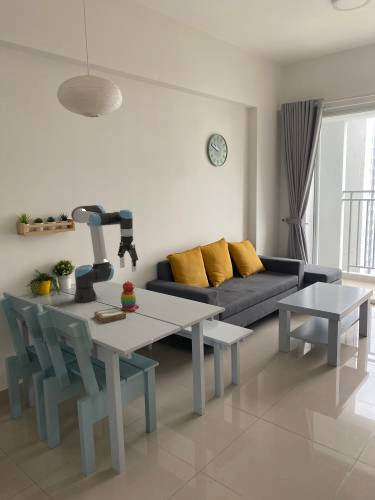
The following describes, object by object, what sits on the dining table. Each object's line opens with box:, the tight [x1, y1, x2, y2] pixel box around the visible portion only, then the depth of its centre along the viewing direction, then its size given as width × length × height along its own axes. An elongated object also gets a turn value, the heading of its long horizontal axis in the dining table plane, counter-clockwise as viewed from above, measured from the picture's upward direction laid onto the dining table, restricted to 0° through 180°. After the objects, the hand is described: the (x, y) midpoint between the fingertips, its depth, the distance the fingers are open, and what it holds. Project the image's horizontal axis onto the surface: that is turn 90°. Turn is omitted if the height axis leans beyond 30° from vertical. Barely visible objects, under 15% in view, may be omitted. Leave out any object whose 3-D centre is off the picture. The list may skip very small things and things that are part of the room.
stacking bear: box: [120, 280, 140, 313], centre depth 241 cm, size 11×10×18 cm
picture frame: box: [94, 307, 127, 324], centre depth 228 cm, size 14×14×3 cm
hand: (128, 269), depth 236 cm, fingers open, 13 cm apart
